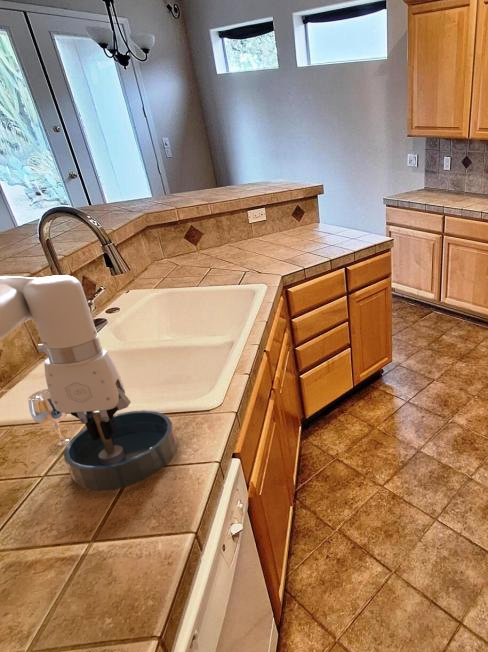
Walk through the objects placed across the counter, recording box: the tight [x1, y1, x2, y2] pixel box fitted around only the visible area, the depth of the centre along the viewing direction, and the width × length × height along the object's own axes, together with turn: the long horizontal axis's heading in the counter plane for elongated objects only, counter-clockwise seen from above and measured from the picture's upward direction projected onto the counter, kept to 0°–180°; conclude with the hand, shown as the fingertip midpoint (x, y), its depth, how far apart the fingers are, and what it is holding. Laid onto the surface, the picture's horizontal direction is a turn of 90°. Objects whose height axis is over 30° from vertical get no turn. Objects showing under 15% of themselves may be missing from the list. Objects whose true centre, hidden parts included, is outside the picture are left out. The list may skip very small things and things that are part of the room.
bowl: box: [63, 409, 178, 492], centre depth 83 cm, size 18×18×6 cm
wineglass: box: [28, 388, 70, 446], centre depth 85 cm, size 6×6×12 cm
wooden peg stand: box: [93, 411, 125, 465], centre depth 81 cm, size 4×4×11 cm
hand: (104, 435), depth 81 cm, fingers closed on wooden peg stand, 1 cm apart
